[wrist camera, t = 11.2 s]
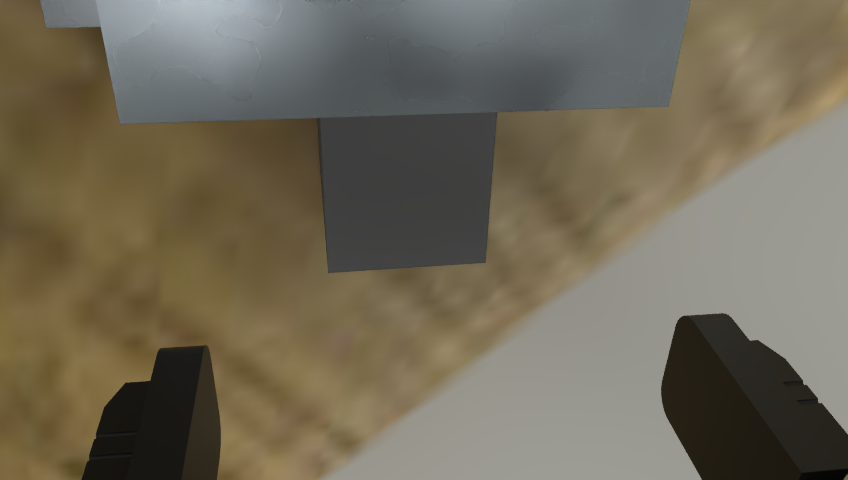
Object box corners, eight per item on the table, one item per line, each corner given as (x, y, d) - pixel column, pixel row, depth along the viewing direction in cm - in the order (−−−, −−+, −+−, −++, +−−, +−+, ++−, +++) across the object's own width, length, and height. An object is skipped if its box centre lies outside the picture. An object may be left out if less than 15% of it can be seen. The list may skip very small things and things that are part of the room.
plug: (322, 208, 25) (330, 321, 20) (296, -273, 18) (298, -289, 13) (443, 202, 25) (481, 309, 20) (462, -267, 19) (526, -281, 14)
